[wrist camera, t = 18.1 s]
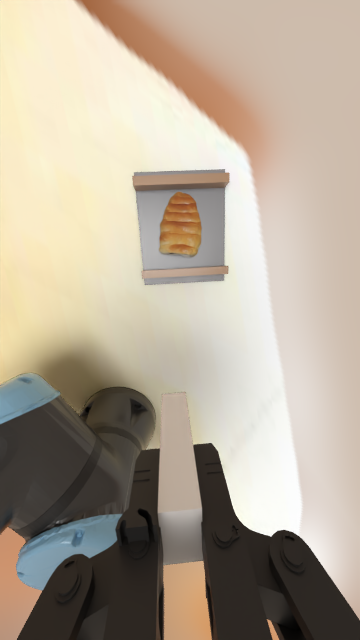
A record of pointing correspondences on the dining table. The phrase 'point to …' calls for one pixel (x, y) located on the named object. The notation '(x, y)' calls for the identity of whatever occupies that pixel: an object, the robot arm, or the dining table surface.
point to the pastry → (180, 227)
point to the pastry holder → (211, 209)
